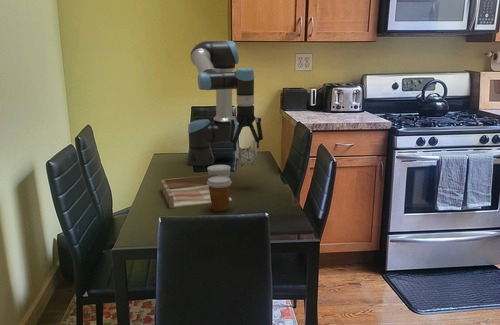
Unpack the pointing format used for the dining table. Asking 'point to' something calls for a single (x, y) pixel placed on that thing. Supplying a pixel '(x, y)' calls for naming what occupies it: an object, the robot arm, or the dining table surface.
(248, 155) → the game die
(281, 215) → the dining table surface
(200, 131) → the robot arm
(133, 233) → the dining table surface
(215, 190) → the disposable coffee cup
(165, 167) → the dining table surface
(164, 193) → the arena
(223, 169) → the ramekin
